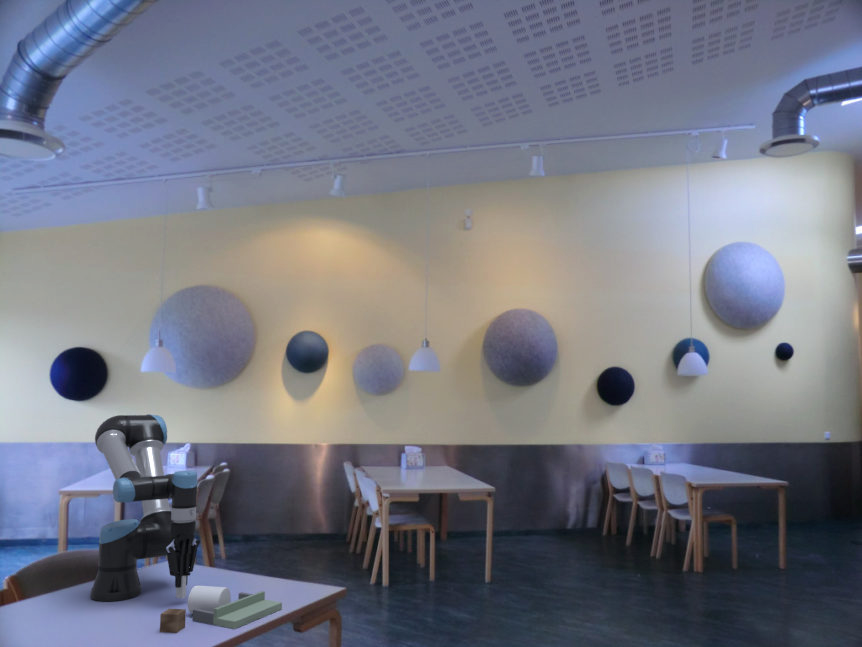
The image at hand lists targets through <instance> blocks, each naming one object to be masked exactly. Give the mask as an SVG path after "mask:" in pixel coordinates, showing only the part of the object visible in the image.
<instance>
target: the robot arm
mask: <svg viewBox="0 0 862 647" xmlns="http://www.w3.org/2000/svg"><path fill="white" fill-rule="evenodd" d="M167 428H168V427H167V424H166V422H165V420H164V418H163V417H162V416H160V415H157V414H142V415H141V414H138V415H137V414H134V415H133V414H132V415H131V414H129V415H128V414H127V415H126V414H125V415H122V414H121V415H118V414H117V415H113V416H111V417H109V418H107V419H106V420H105V421H103V422H102V423H101V424H100V425H99V426H98V428H97V429H96V432H95V437H94V443H95V445H96V448H97V450H98V452H100V453H101V454H102V455H104V458H105V460H106V462H107V464H108V466H109V469H110V471H111V473H112V476H113V477H114V482H113V486H112V494H113V499H114V501H115V502H117V503H132V502H133V503H134V502H141V505H142V513H143V516H142V517H140V518H141V519H140V520H138V519H136V518H135V519H133V518H129V519H121V520H116V521H112V522H109V523H106V524H105V525H103V526H102V527H101V529H100V531H99V536H98V537H99V538H98V539H99V540H98V558H97V559H98V564H97V574H96V576H95V580H94V582H93V586H92V588H91V589H90V599H91V598H92V600H93V599H94V601H97V602H116V601H125V600H128V599H133V598H135V597H138V596H140V595H141V594H142V584H141V581H140V578H139V573H138V570H137V569H138V568H137V565H138V563H137V562H138V560H144V559H146V560H147V559H153V558H159V557H160V558H161V557H167V564H168V570H169V571H168V572H169V575H170V576H171V577H174V587H175V598H178V599H185V598H187V585H188V577H190V576H191V574H192V573H193V571H194V568H195V564H196V558H197V552H198V548H199V546H200V543H201V540H200V539H196V538H195V533H196V531H197V530H196V529H197V521H195V520H196V518H197V502H198V501H197V500H198V498H197V497H198V483H199V481H198V474H197V472H196V471H194V470H178V471H174V473H167V474H165V473H164V467H163V462H162V456H161V455H162V454H161V451H162V450H163V449H164V446H165V444H166V443H167V441H168V429H167ZM133 457H134V458H133ZM134 459H135V460H134ZM169 499H171V507H170V502H169Z"/></svg>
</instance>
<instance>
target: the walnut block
mask: <svg viewBox="0 0 862 647" xmlns="http://www.w3.org/2000/svg"><path fill="white" fill-rule="evenodd" d="M186 612H187V609H185V608H183V609H182V608H168V609H166V610H165V611H163V612H161V613H160V619H159V620H160V622H159V633H165V634H166V633H168V634H170V633H171V634H178V633H179V632H180V631H182V630H183V629H185V628H186V614H187V613H186Z"/></svg>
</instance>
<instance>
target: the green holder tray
mask: <svg viewBox="0 0 862 647" xmlns="http://www.w3.org/2000/svg"><path fill="white" fill-rule="evenodd" d="M265 596H266V591H263V590H261V591H258V592H256V593H249V592H248V593H247V592H243V591H242V592H239V593H238V599H236V600H234V601H230V603H228V604H226V605H223V606H220V607H217V608H215V609H214V612H212V611H207V610H202V609H194V610H193V614H192V622H193V621H194V622H199V623H203V624H209V625H212V626H218V627H223V628H227V629H233V630H236V629H239V628H241V627H243V626H246V625H248V624H250V623H253V622H255V621H257V620H260V619H262V618H264V617H267V616H269V615H271V614H274V613H276V612H278V611H282V610H283V602H281V601H276V600H270V599H266V597H265Z"/></svg>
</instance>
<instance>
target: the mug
mask: <svg viewBox="0 0 862 647" xmlns="http://www.w3.org/2000/svg"><path fill="white" fill-rule="evenodd" d="M231 598H232V597H231V592H230V589H229V588H228V587H225V586H213V585H212V586H210V585H209V586H208V585H195V586H193V587H192V588H191V590H190V591H189V595H188V597H187V609H188V610H187V611H188V612H189V613H190V614H192V615H193V610H194V609H202V610H207V611H212V612H214V609H215V608H217V607H220V606H223V605H226V604H228V603H231Z"/></svg>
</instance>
